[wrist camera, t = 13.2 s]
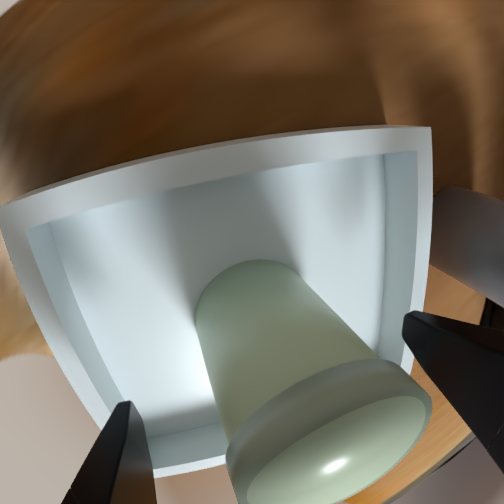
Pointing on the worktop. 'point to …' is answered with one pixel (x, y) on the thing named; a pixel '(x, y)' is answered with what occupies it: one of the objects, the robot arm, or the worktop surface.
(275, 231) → the tray
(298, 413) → the cylinder
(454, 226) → the grey cup
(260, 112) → the worktop surface
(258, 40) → the worktop surface
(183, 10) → the worktop surface
